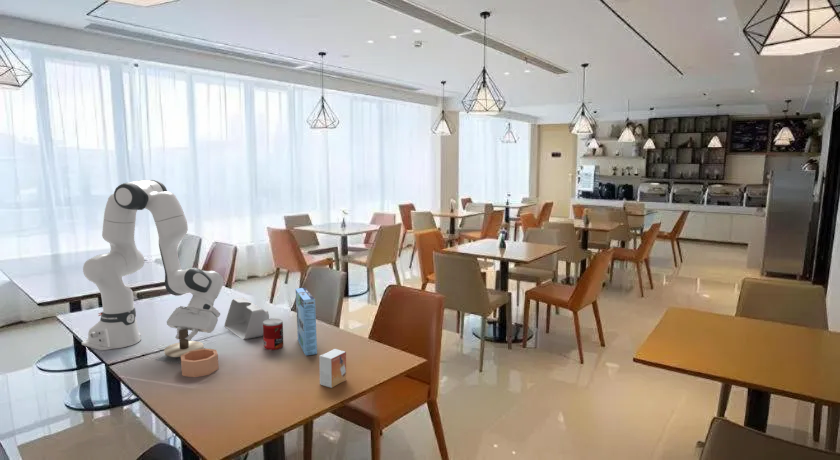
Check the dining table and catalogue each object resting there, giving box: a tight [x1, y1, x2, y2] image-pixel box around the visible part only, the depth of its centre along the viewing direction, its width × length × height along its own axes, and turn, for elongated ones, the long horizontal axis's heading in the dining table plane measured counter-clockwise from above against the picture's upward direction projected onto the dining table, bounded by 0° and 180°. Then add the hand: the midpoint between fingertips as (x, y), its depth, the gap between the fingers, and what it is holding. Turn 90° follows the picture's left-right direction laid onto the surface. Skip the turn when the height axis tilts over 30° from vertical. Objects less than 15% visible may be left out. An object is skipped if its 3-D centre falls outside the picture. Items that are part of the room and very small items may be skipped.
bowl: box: [180, 347, 219, 378], centre depth 177 cm, size 12×12×6 cm
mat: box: [155, 354, 181, 365], centre depth 191 cm, size 15×15×1 cm
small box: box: [318, 348, 347, 389], centre depth 169 cm, size 8×6×10 cm
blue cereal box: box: [295, 287, 318, 357], centre depth 200 cm, size 20×5×23 cm, turn 23°
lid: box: [163, 329, 205, 357], centre depth 191 cm, size 14×14×8 cm
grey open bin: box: [224, 297, 270, 341], centre depth 221 cm, size 25×16×12 cm, turn 40°
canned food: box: [262, 318, 284, 351], centre depth 200 cm, size 8×8×11 cm
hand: (182, 339), depth 190 cm, fingers closed on lid, 3 cm apart
